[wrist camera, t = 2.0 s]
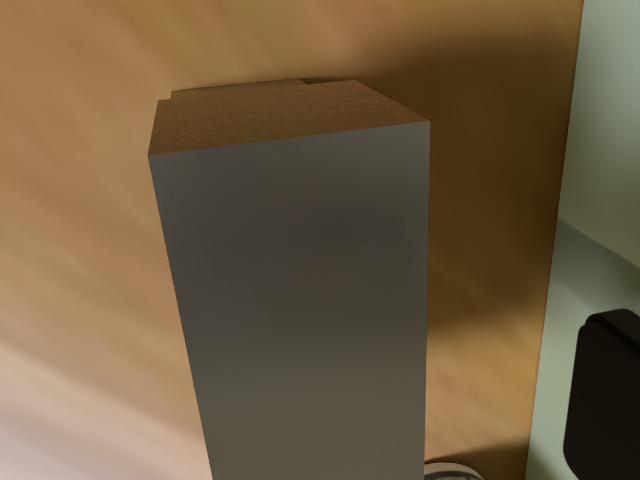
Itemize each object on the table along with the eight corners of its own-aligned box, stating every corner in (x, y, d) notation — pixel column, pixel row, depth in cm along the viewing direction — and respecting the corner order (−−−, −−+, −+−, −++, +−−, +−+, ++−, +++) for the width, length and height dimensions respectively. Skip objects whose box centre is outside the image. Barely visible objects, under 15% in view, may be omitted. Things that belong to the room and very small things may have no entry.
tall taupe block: (165, 60, 13) (147, 155, 6) (296, 47, 13) (430, 120, 6) (221, 378, 17) (252, 674, 9) (320, 359, 17) (420, 627, 10)
